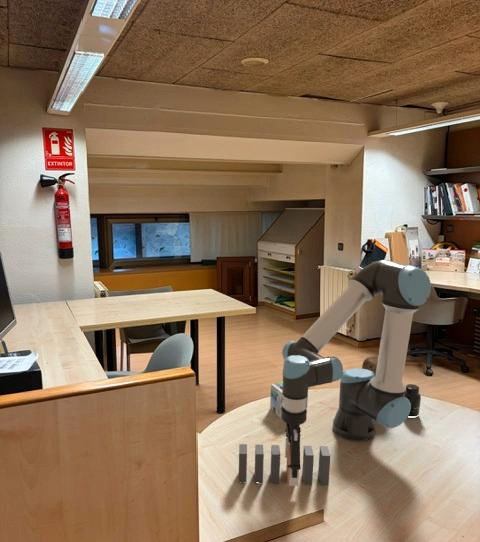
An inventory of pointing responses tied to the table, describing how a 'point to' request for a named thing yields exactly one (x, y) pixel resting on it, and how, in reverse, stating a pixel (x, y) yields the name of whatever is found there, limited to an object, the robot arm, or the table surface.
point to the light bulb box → (276, 398)
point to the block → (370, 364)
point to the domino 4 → (288, 463)
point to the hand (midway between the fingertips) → (291, 470)
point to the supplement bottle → (413, 398)
